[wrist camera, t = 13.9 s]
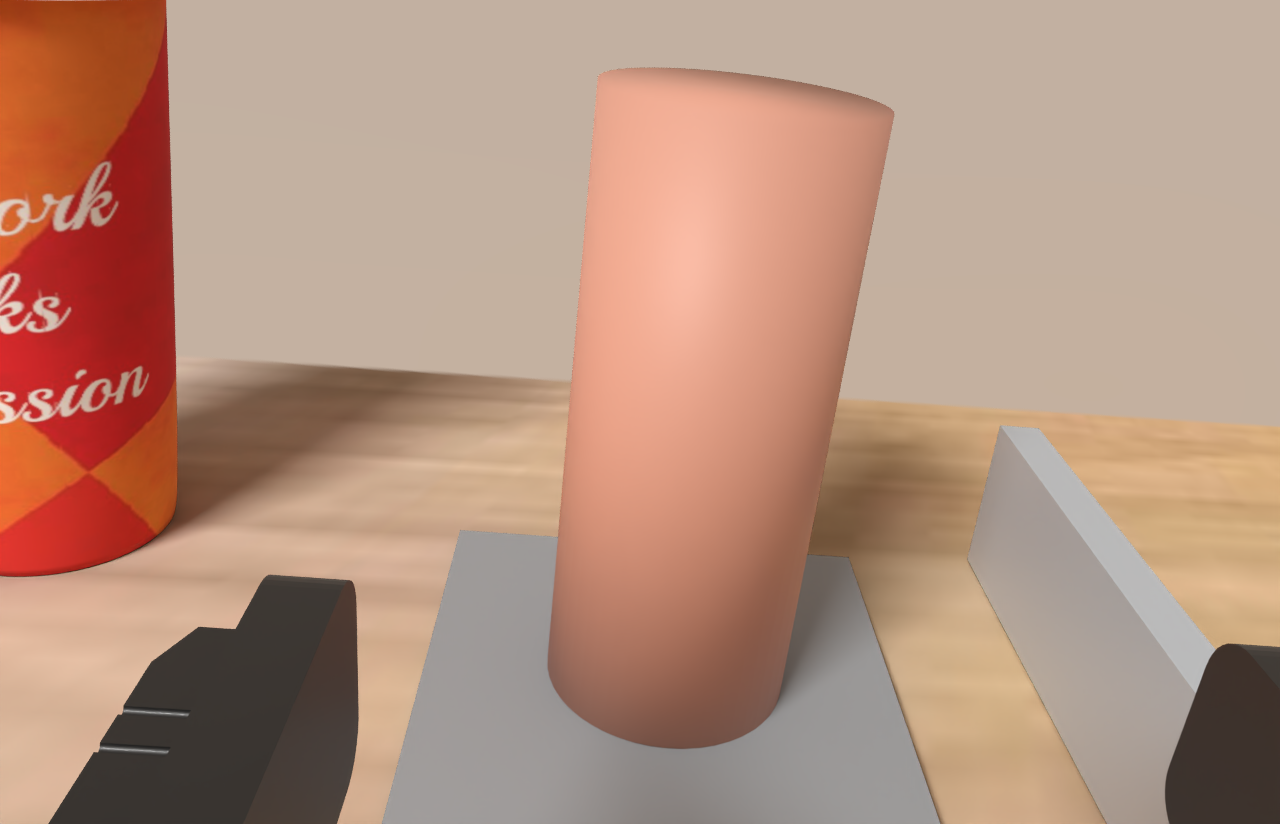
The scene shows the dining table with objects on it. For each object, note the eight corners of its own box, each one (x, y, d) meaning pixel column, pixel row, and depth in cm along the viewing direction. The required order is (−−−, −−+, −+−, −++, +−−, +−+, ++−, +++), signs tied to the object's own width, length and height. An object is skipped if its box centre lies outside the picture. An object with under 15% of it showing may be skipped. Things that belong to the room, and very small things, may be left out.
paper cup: (-208, 585, 24) (-399, -119, 18) (-4, 435, 31) (-97, -109, 25) (145, 621, 24) (64, -74, 18) (269, 463, 31) (238, -76, 25)
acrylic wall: (1003, 561, 30) (1038, 428, 28) (1223, 939, 19) (1301, 757, 17) (967, 559, 30) (1000, 425, 28) (1165, 936, 19) (1238, 753, 17)
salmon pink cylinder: (767, 609, 26) (863, 87, 21) (794, 758, 21) (926, 137, 16) (555, 590, 26) (601, 58, 21) (538, 737, 21) (592, 100, 16)
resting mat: (845, 570, 29) (848, 557, 28) (948, 877, 20) (953, 861, 19) (459, 543, 28) (460, 529, 28) (380, 846, 19) (380, 828, 19)
